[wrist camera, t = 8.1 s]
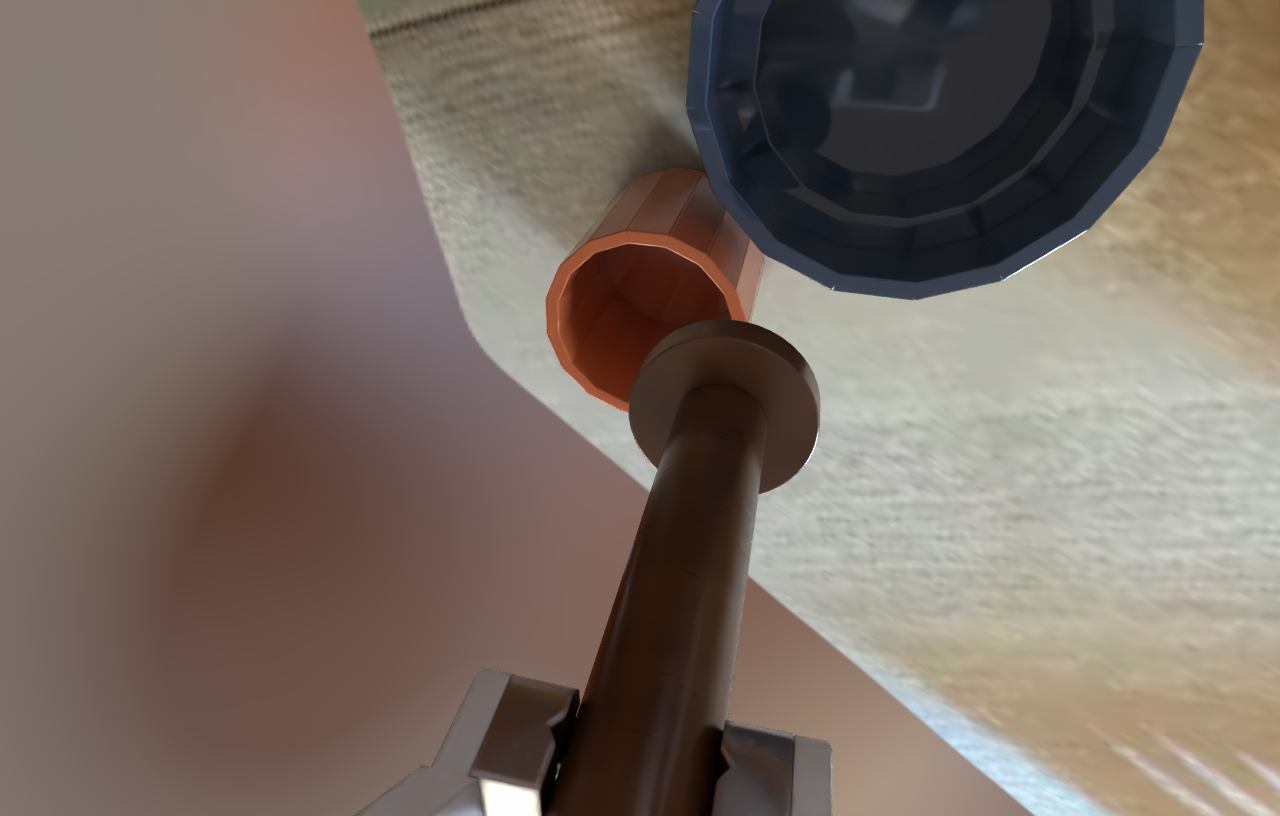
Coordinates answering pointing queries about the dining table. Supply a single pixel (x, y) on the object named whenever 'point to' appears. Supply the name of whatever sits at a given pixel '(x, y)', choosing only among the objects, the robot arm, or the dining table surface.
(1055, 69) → the bowl
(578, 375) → the crock
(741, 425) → the plunger
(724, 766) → the robot arm
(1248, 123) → the dining table surface
